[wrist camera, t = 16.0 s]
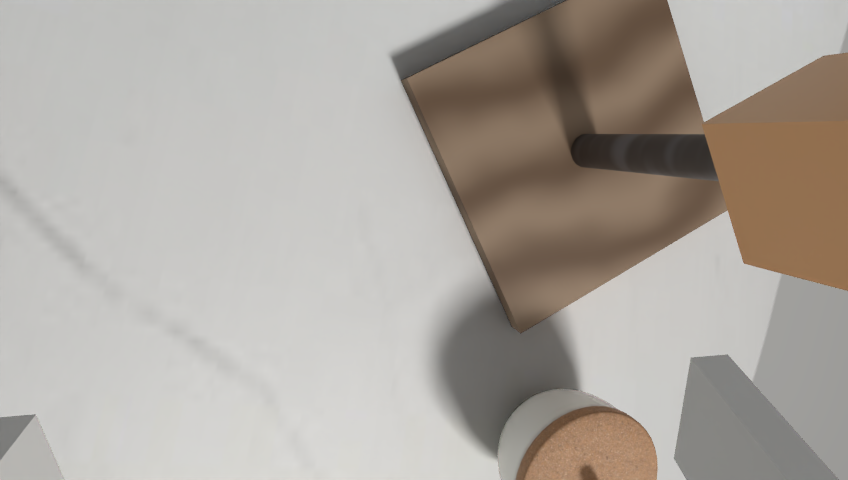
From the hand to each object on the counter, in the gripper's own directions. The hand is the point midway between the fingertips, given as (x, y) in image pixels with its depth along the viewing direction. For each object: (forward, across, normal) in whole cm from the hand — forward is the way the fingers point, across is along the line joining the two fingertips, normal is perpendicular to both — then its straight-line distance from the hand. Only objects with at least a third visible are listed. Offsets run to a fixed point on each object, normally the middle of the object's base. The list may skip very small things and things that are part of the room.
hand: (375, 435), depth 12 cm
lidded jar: (+26, +10, -26) cm, 38 cm away
